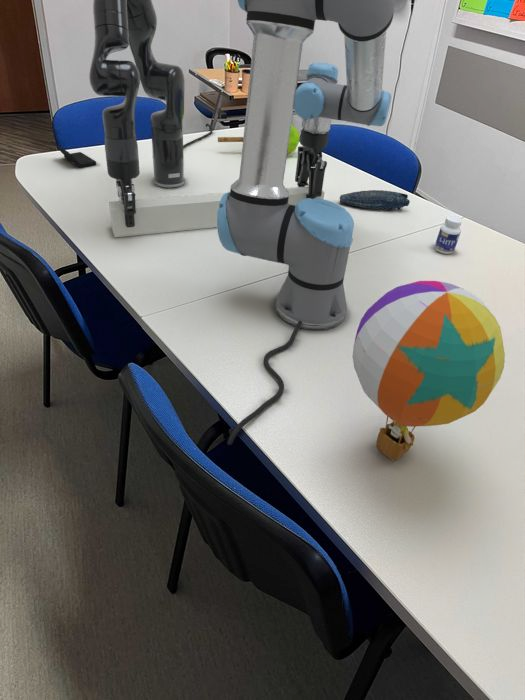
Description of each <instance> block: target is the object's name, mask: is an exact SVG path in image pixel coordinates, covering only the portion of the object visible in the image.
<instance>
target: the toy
mask: <svg viewBox="0 0 525 700" xmlns="http://www.w3.org/2000/svg"><path fill="white" fill-rule="evenodd" d="M356 329H357V330H356V333H355V338H354V343H353V348H352V363H353V368H354V371H355V373H356V375H357V378H358V380H359V383H360V386H361V388H362V390H363V392H364V394H365V395H366V396H367V397H368V398H369V399H370V401H371V402H373V403H374V405H375V406H376V407H377V408H378V409H379V410H380V411H381V412H382V413H383V414H384V415H385V416H386V422H385V427H380V428H379V432H378V434H377V438H376V442H375V444H376V448H377V449H378V451H380V453H382V454H383V455H385V456H386V457H387V459H390V461H392V462H396V461H398V460H399V459H400V458H401V457H403V456H404V455H405V454H407V452H409V451H410V449H411V447H413V446H414V445H415V444H414V442H415V439H416V436H415V434H414V433H413V432H414V430H415V429H416V427H417V428H418V427H433V426H443V425H448V424H451V423H453V422H455V421H458V420H460V419H462V418H465V417H467V416H469V415H471V414H472V413H474V412H477V411H478V410H479V409H480V408H481V407H482V406H483V405H484V404H485V403H486V401H487V400H488V398H489V397H490V395H491V393H492V392H493V390H494V389H495V388H496V386H497V384H498V382H499V381H500V380H501V378H502V375H503V371H504V369H505V360H506V359H505V358H506V353H505V347H504V341H503V335H502V329H501V326H500V324H499V321H498V320H497V318H496V316H495V315H494V314H493V312H492V311H491V310H490V309H489V308H488V306H487V305H486V304H485V303H484V302H483V301H482V299H481V298H480V297H478V296H476V295H475V294H473V293H472V292H470V291H469V290H467V289H465V288H463V287H460V286H457V285H455V284H453V283H449V282H444V281H440V280H439V281H438V280H417V281H414V282H410V283H407V284H402V285H399V286H396V287H394V288H392V289H391V290H389V291H387V292H386V293H384V294H383V295H382V296H381V297H380V298H378V299H377V300H376V301H375V302H374V303H373V304H372V305H371V306H369V308H367V310H366V311H365V313H364V314H363V316H362V317H361V318H360V320H359V324H358V327H357V328H356ZM389 419H390V420H391V421H392V422H391V423H388V422H389V421H388V420H389ZM408 427H411V428H412V427H413V428H412V430H411V431H410V430H409V428H408Z"/></svg>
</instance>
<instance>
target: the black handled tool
mask: <svg viewBox="0 0 525 700" xmlns="http://www.w3.org/2000/svg"><path fill="white" fill-rule="evenodd" d="M52 145H53V146H54V147H55V148H56V149H57V150H58V151H59V152H60V153H62V154H63V157H64V158H65V160H67V161H69V162H71V163H72V164H73V165H74V166H76V167H78V168H85V167H90V166H96V165H97V161H96V160H94V159H93V158H91V157H89V156H88V155H86V154H85V153H84V152H82V151H78V152H77V151H76V152H73V153H70V152H69V151H67V149H65V148H63V147H62V146H60V145H58V144H57V143H55V142H52Z"/></svg>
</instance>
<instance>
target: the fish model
mask: <svg viewBox="0 0 525 700" xmlns="http://www.w3.org/2000/svg"><path fill="white" fill-rule="evenodd" d="M410 202H411V201H410V200H409V195H408V194H406V193H403V192H402V193H401V192H399V191H392V190H382V189H380V190H379V189H377V190H376V189H368V190H360V191H352V192H348V193H344V194H341V195H340V196H339V203H343V204H346V205H349V206H351V207H357V208H362V209H371V210H372V209H374V210H384V211H385V210H386V211H391V210H394V209H397V210H402V208H404V207H408V206H409V205H410Z"/></svg>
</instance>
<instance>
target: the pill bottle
mask: <svg viewBox="0 0 525 700" xmlns="http://www.w3.org/2000/svg"><path fill="white" fill-rule="evenodd" d="M462 222H463V219H461V218H460V217H458V216H455V215H448V216H446V218H445V220H444V223H443V224H442V225H440V228H439V231H438V234H437V237H436V240H435V243H434V250H435V251H437V252H439V253H441V254H447V255H449V254H453V253H454V252H455V250H456V247H457V244H458V242H459V239H460V236H461V233H462V229H461V225H462Z"/></svg>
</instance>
